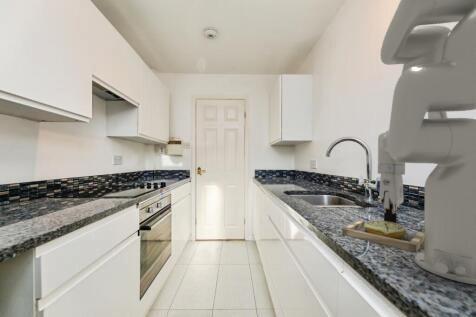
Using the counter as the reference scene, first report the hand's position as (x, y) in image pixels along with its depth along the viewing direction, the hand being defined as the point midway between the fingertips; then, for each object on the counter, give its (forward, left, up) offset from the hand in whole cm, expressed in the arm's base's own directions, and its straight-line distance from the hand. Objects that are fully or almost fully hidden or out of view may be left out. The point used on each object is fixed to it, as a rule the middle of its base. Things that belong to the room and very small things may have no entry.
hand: (390, 224), depth 75 cm
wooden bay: (-9, 0, -2) cm, 9 cm away
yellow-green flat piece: (-7, 0, -2) cm, 7 cm away
